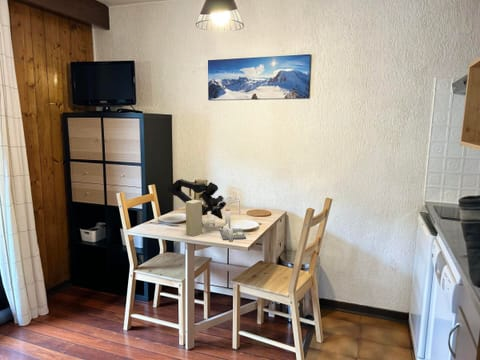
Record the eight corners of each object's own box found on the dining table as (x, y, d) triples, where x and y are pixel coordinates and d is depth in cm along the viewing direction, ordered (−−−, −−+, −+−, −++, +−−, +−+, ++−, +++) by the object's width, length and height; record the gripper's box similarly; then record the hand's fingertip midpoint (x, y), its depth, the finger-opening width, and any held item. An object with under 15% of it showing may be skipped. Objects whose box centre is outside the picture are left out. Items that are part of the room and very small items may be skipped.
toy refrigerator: (194, 230, 225) (193, 199, 221) (202, 233, 220) (202, 201, 217) (185, 234, 219) (184, 201, 215) (193, 236, 214) (192, 203, 210)
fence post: (229, 233, 215) (229, 211, 212) (224, 233, 215) (223, 210, 212) (230, 229, 223) (230, 207, 220) (225, 229, 223) (225, 207, 221)
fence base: (222, 236, 214) (222, 225, 213) (227, 235, 216) (227, 224, 214) (228, 242, 205) (228, 229, 204) (234, 241, 207) (234, 229, 205)
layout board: (219, 231, 224) (219, 229, 224) (241, 229, 226) (241, 228, 226) (223, 240, 208) (223, 238, 208) (246, 238, 210) (246, 236, 210)
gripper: (205, 194, 215) (219, 214, 211) (224, 189, 231) (237, 208, 226) (196, 205, 221) (210, 225, 217) (215, 199, 236) (228, 217, 232)
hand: (222, 218), depth 223 cm, fingers closed
